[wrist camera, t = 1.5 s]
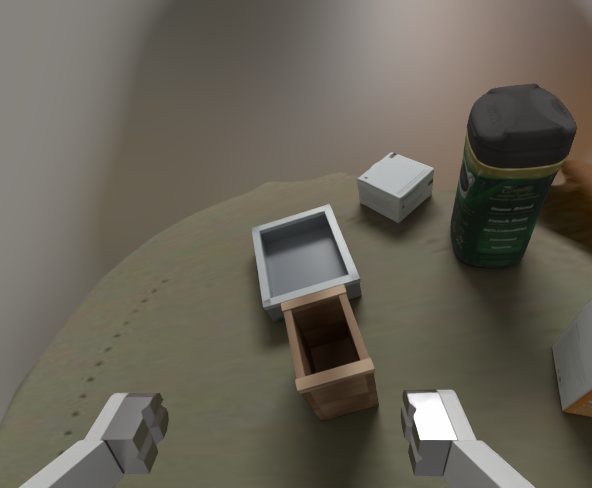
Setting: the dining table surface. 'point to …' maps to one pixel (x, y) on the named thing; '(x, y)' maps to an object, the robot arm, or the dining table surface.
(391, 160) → the small box
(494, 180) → the coffee jar
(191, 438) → the dining table surface
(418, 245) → the dining table surface
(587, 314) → the small box
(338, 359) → the walnut crate
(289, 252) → the tray
